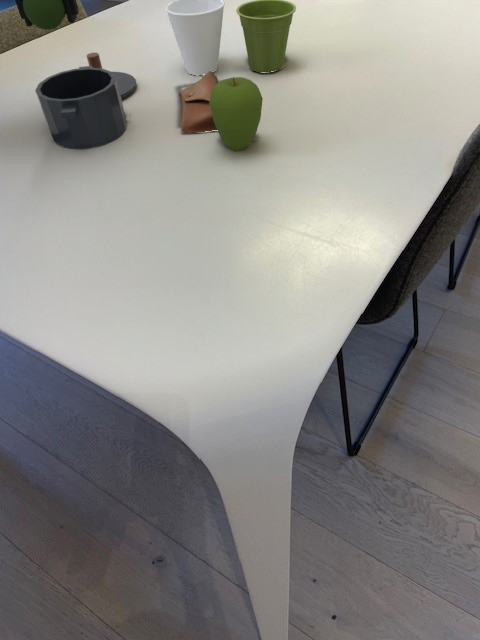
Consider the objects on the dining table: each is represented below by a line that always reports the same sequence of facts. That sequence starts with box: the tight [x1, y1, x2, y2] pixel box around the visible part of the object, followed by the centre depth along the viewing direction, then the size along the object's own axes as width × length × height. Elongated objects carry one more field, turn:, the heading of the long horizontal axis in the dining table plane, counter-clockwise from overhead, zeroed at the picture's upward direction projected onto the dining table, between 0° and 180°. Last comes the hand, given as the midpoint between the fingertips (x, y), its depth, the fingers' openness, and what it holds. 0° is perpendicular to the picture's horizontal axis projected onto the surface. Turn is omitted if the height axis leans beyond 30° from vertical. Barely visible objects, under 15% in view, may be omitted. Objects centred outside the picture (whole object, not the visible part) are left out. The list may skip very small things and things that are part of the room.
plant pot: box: [235, 0, 297, 73], centre depth 102 cm, size 12×12×11 cm
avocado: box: [23, 0, 67, 31], centre depth 73 cm, size 10×6×6 cm, turn 3°
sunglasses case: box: [178, 71, 219, 134], centre depth 92 cm, size 18×7×7 cm
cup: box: [164, 0, 225, 76], centre depth 103 cm, size 12×12×12 cm
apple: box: [209, 76, 264, 152], centre depth 79 cm, size 9×8×12 cm
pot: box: [34, 65, 128, 150], centre depth 88 cm, size 14×19×8 cm
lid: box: [86, 52, 137, 99], centre depth 100 cm, size 15×15×7 cm
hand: (52, 20), depth 74 cm, fingers closed on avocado, 5 cm apart
